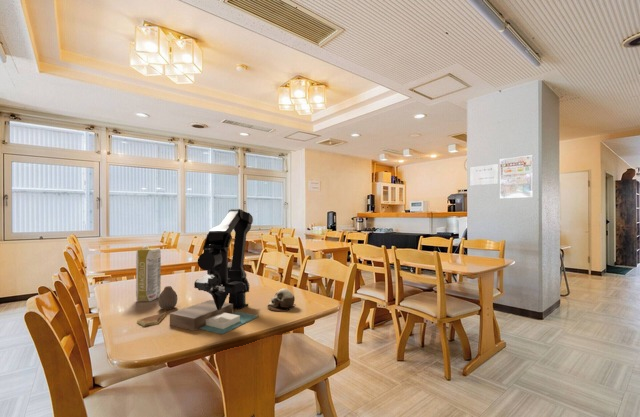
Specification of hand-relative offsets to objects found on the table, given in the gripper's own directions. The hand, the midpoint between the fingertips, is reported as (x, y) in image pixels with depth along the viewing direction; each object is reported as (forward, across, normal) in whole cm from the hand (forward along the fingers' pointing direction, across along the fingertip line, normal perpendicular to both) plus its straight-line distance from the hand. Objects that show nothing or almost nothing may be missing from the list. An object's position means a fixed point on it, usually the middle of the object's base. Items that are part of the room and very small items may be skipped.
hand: (219, 309), depth 105 cm
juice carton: (+5, -51, +8) cm, 52 cm away
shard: (+5, -24, -9) cm, 26 cm away
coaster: (+4, +2, 0) cm, 5 cm away
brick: (+5, -8, 0) cm, 9 cm away
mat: (+5, +4, +2) cm, 6 cm away
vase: (+5, -31, +3) cm, 32 cm away
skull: (+5, +10, +24) cm, 27 cm away
